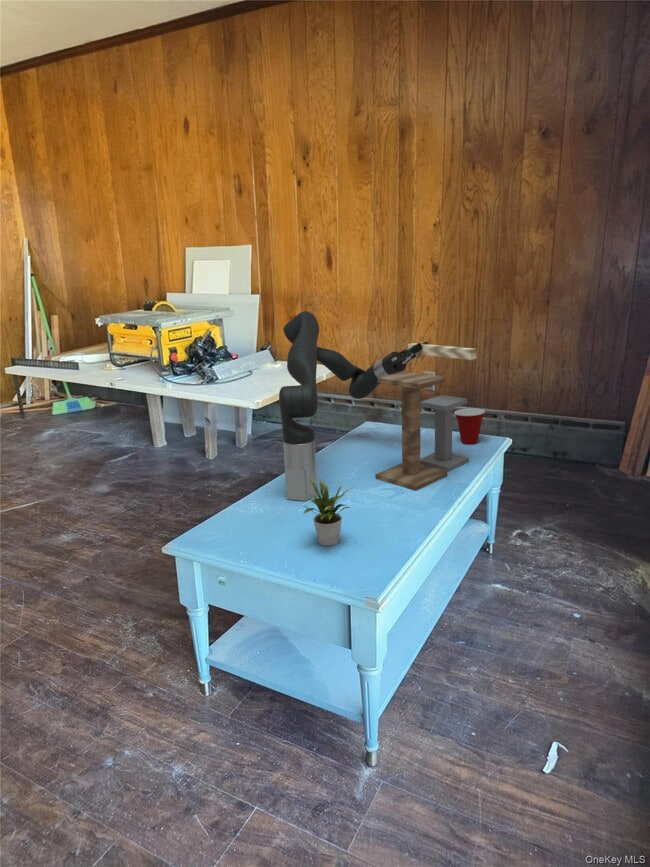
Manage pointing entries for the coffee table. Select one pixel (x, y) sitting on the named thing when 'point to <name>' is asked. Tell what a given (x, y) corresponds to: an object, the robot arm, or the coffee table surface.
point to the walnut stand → (411, 433)
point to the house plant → (327, 515)
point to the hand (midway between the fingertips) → (424, 344)
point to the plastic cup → (469, 424)
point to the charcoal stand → (443, 433)
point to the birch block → (446, 351)
